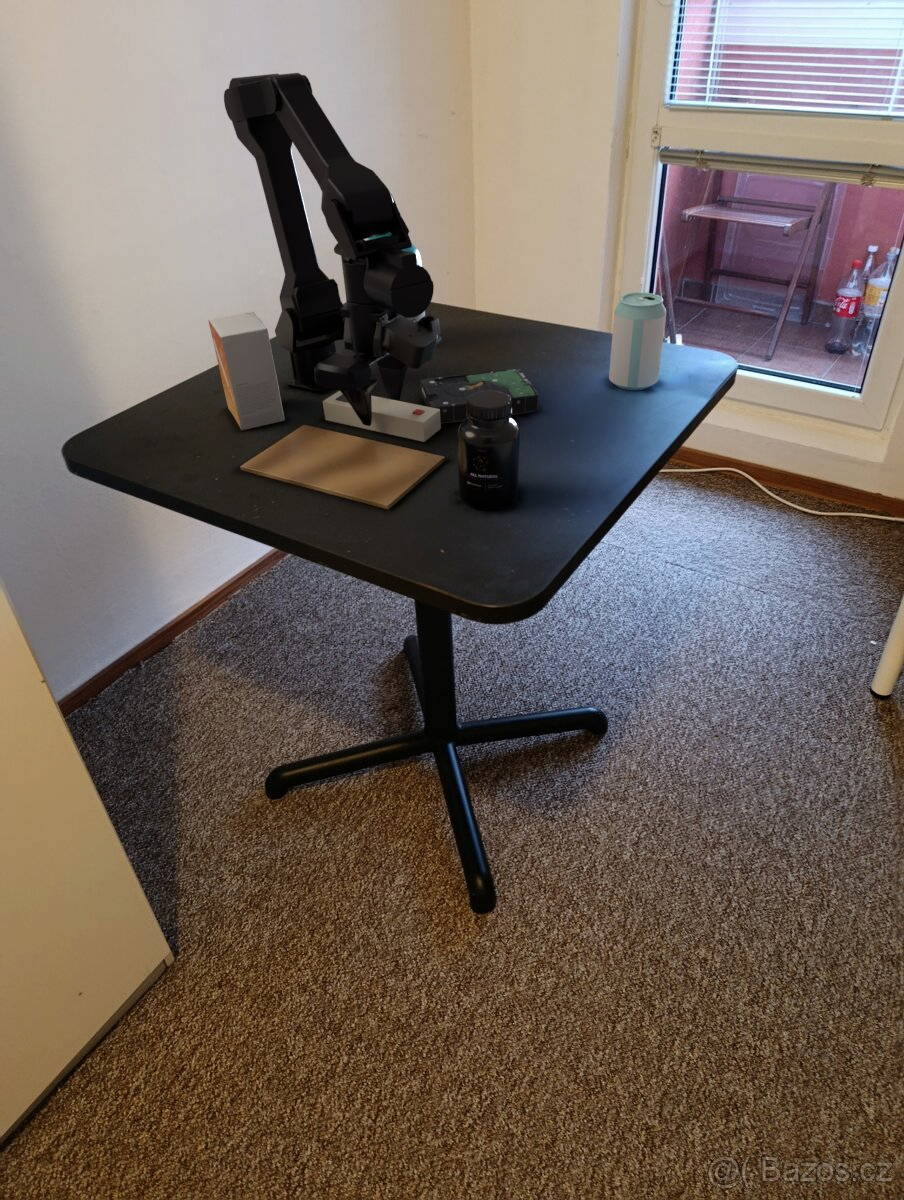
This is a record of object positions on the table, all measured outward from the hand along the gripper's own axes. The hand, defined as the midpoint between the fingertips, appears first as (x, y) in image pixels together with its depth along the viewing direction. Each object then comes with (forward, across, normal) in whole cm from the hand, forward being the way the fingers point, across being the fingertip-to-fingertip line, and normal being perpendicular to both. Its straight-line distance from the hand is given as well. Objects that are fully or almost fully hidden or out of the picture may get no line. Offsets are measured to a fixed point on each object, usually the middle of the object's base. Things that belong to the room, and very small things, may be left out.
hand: (381, 415), depth 109 cm
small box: (+2, -5, +18) cm, 19 cm away
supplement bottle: (+2, -11, -22) cm, 25 cm away
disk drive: (+2, +11, -9) cm, 14 cm away
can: (+2, +27, -26) cm, 38 cm away
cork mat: (+1, -12, -2) cm, 12 cm away
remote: (+1, 0, 0) cm, 1 cm away
